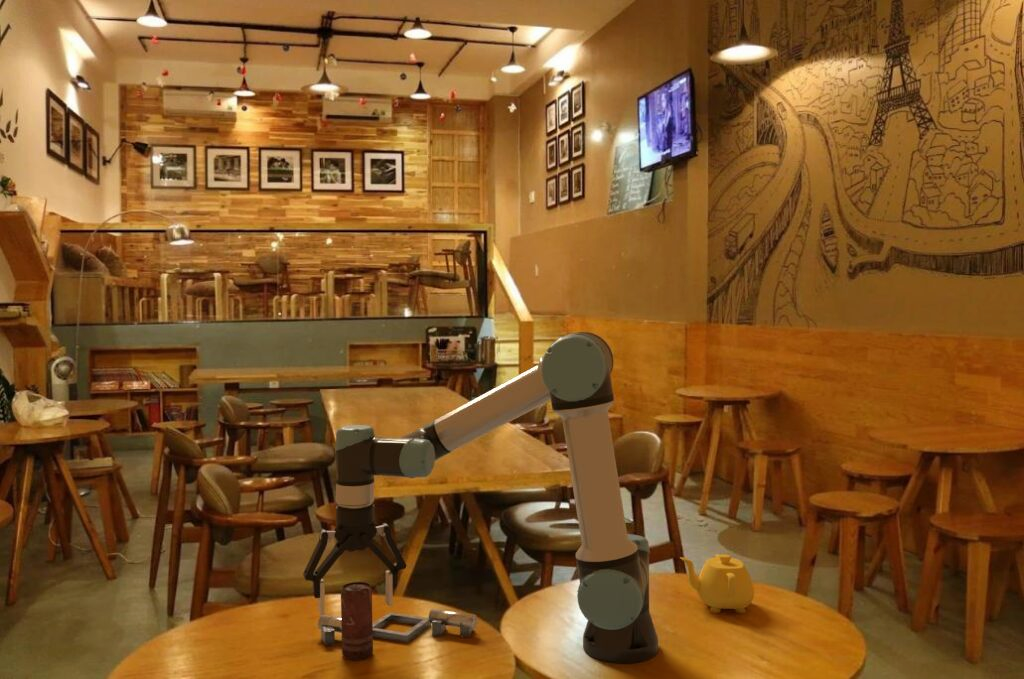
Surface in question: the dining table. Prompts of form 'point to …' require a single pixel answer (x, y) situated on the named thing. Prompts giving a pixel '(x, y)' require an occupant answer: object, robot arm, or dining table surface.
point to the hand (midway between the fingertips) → (355, 608)
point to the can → (356, 621)
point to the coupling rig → (421, 623)
